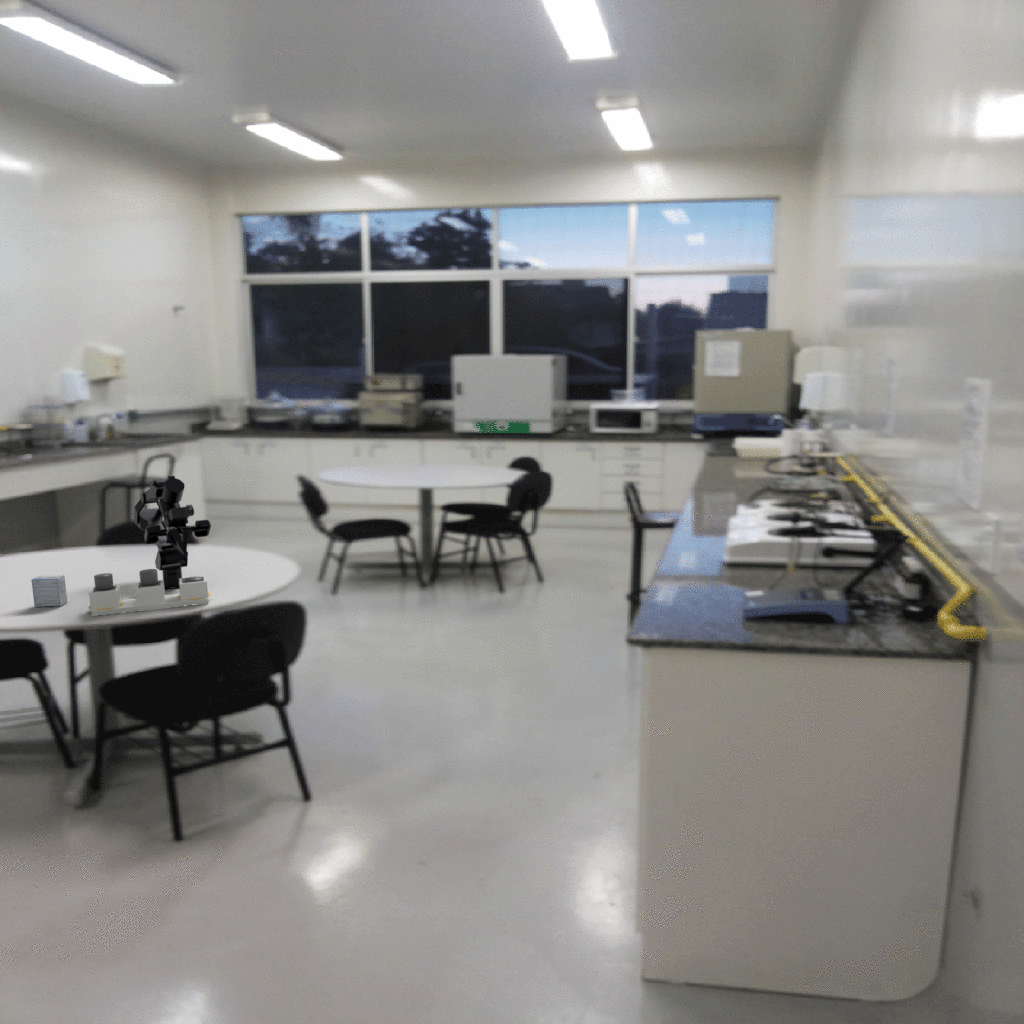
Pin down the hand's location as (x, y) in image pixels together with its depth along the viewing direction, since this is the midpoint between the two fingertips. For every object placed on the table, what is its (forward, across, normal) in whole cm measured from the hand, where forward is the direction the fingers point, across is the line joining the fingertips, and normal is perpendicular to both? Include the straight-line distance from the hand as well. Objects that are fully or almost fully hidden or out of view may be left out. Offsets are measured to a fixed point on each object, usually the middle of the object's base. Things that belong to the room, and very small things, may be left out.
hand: (185, 553), depth 266 cm
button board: (+12, -12, +7) cm, 18 cm away
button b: (+7, -12, +3) cm, 14 cm away
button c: (+5, -23, +5) cm, 24 cm away
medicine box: (-3, -35, +22) cm, 42 cm away
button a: (+12, 0, +3) cm, 12 cm away
